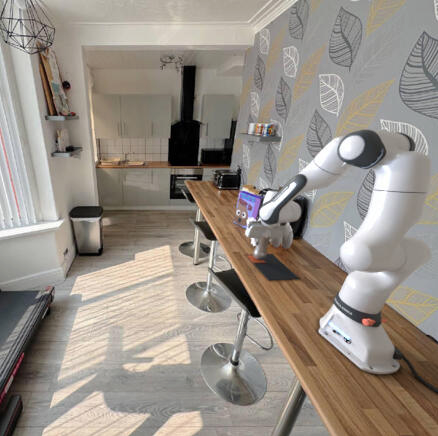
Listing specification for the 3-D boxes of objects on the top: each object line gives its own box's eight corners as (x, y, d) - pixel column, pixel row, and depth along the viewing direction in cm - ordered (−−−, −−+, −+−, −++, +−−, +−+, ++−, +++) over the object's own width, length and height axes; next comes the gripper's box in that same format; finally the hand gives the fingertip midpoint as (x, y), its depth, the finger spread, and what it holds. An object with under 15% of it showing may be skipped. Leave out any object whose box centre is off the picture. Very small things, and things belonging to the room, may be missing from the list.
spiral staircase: (288, 256, 140) (246, 251, 141) (279, 233, 152) (241, 228, 152) (305, 238, 127) (259, 233, 127) (295, 214, 138) (252, 209, 139)
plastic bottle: (266, 262, 123) (276, 228, 115) (253, 260, 124) (261, 226, 117) (263, 256, 129) (272, 223, 121) (250, 254, 130) (258, 221, 122)
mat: (299, 279, 114) (299, 278, 113) (268, 280, 112) (269, 279, 111) (272, 254, 134) (272, 253, 133) (245, 255, 132) (245, 254, 131)
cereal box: (233, 222, 174) (239, 191, 164) (237, 221, 176) (244, 190, 166) (252, 232, 160) (260, 198, 150) (257, 231, 162) (265, 198, 152)
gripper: (252, 223, 114) (246, 247, 119) (290, 222, 116) (283, 246, 122) (246, 217, 120) (240, 241, 125) (282, 217, 122) (275, 241, 128)
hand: (261, 244), depth 124 cm, fingers closed on plastic bottle, 5 cm apart
